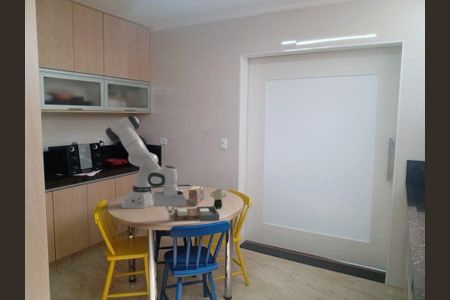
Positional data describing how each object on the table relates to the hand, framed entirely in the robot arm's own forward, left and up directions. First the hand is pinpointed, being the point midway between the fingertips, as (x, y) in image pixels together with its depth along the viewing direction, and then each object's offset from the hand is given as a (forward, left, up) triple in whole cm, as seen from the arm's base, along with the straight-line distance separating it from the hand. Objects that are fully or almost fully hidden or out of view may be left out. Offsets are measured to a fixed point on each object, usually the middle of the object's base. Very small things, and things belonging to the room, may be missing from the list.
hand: (170, 212), depth 196 cm
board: (+11, +4, -4) cm, 12 cm away
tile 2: (+8, 0, -1) cm, 8 cm away
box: (+25, +4, -4) cm, 25 cm away
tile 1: (+23, +7, -4) cm, 24 cm away
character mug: (+35, +21, -4) cm, 40 cm away
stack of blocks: (+21, +37, -4) cm, 43 cm away
